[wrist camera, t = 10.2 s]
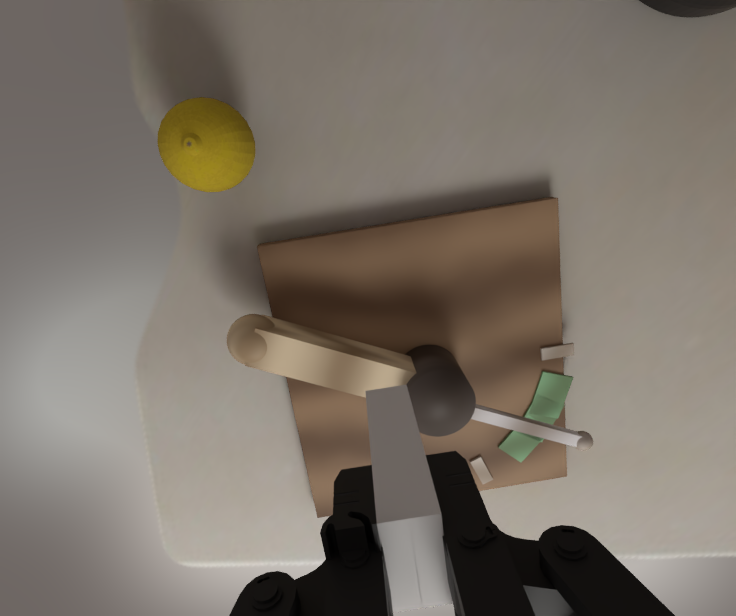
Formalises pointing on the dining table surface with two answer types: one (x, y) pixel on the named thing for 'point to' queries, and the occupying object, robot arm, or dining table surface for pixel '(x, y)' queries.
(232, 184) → the lemon
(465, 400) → the tan long two-tone device
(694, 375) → the dining table surface
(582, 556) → the robot arm
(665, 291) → the dining table surface
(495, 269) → the board
